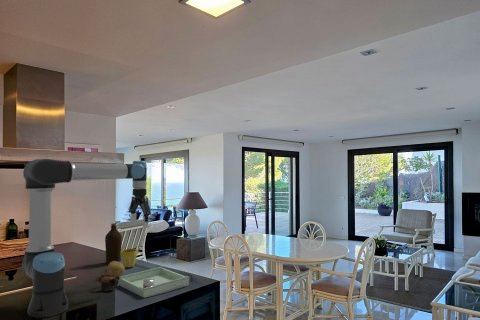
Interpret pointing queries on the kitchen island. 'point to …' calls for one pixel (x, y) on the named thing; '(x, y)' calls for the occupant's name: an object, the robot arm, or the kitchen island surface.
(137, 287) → the tray
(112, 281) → the pottery mug
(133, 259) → the plant pot
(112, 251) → the olive oil
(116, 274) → the potato
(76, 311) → the kitchen island surface
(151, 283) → the tin
